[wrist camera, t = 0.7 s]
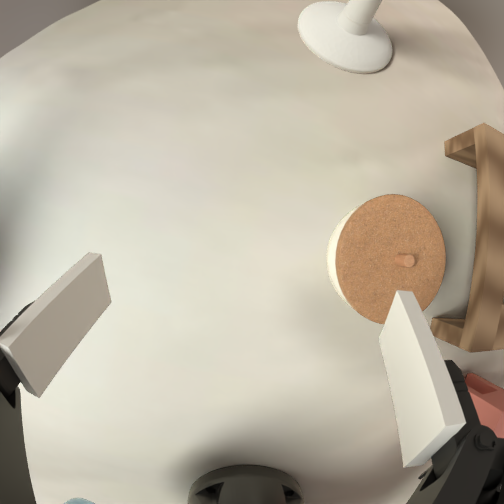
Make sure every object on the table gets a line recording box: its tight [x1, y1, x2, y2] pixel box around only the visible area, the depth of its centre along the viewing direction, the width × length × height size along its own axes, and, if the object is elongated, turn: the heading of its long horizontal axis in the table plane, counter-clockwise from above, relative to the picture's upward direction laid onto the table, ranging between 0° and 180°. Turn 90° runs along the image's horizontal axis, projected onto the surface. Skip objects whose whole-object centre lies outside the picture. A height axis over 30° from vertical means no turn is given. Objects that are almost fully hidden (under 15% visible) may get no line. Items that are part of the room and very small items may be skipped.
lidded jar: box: [327, 194, 446, 324], centre depth 25 cm, size 11×11×9 cm
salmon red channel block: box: [465, 373, 504, 438], centre depth 25 cm, size 8×6×12 cm
